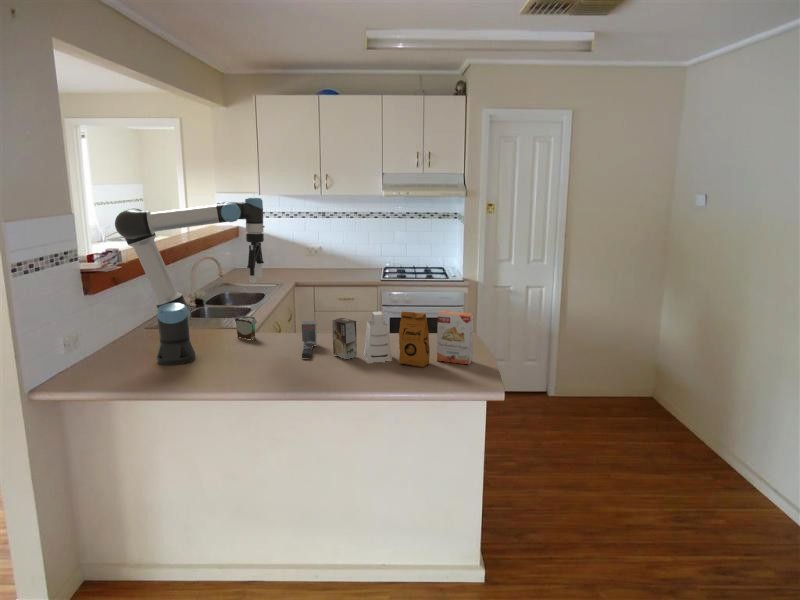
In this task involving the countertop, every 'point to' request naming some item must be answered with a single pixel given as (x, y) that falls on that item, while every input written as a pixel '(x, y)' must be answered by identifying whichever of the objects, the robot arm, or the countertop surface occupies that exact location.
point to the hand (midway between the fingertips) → (256, 280)
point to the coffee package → (414, 339)
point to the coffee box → (344, 338)
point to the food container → (245, 327)
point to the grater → (377, 339)
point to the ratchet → (308, 348)
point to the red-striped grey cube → (309, 331)
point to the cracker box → (455, 337)
